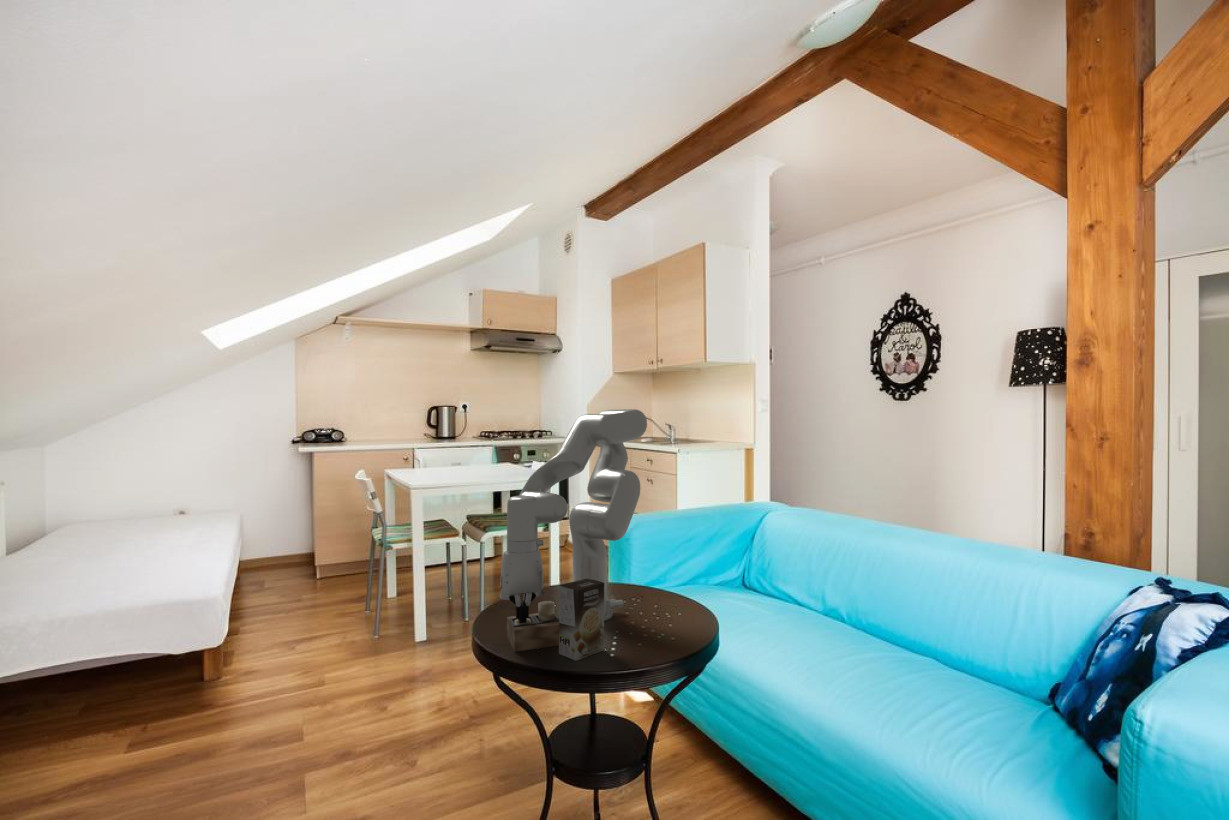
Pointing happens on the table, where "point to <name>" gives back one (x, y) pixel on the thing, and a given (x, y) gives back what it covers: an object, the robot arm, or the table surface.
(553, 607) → the peg inner
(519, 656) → the table surface
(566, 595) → the cookie box
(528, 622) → the peg outer
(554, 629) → the press block
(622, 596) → the table surface
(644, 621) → the table surface
